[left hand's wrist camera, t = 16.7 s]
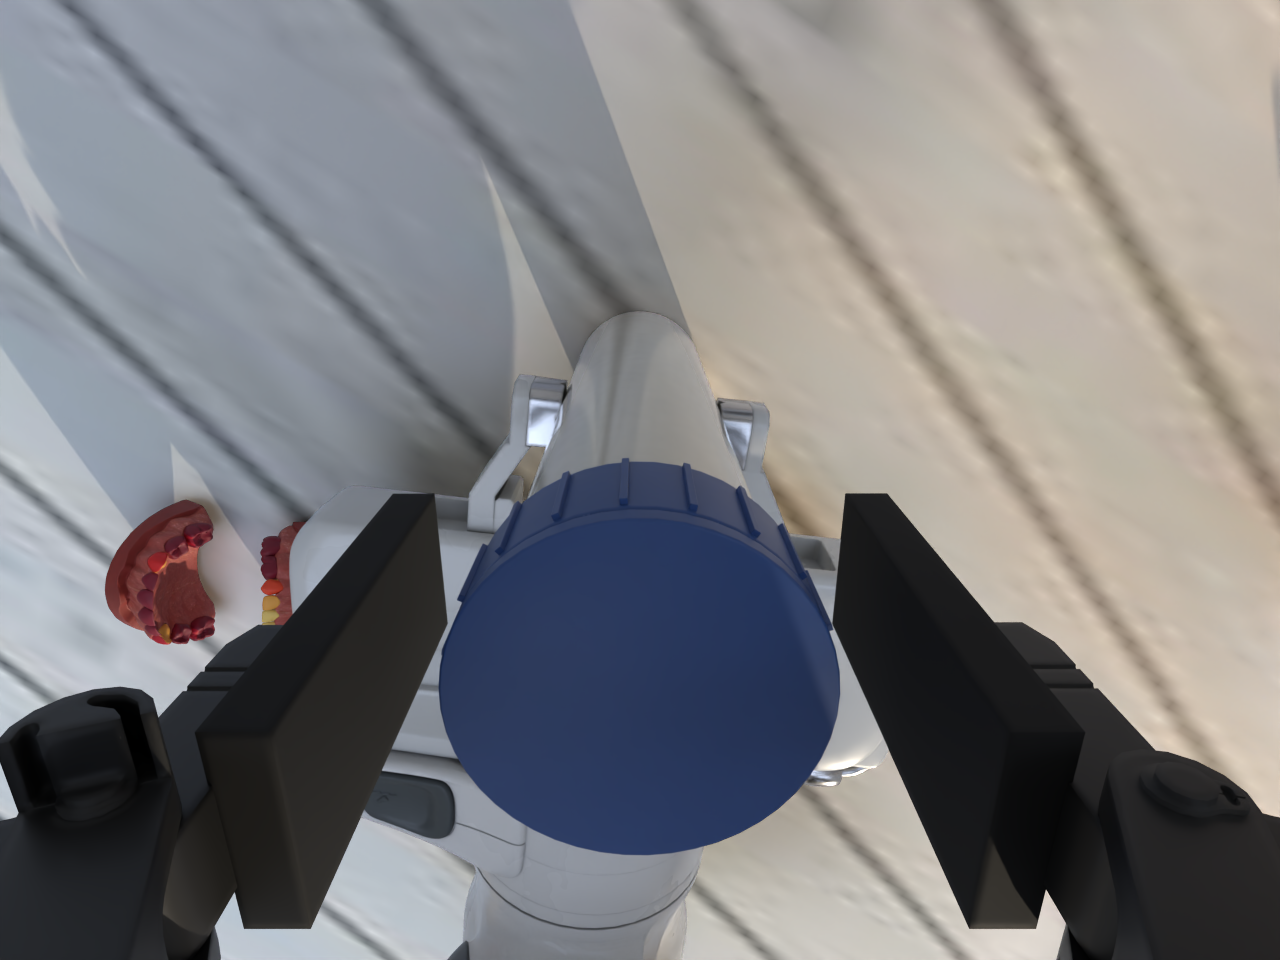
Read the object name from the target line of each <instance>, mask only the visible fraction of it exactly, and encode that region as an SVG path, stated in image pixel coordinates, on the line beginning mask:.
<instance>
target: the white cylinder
mask: <svg viewBox="0 0 1280 960" xmlns="http://www.w3.org/2000/svg"><path fill="white" fill-rule="evenodd" d="M622 458H629V462H631V461H633V462H659V463H666V464H673V465H679V466H683V463H688V464H690V465H691V469H694V470H698V471H701V472H703V473H706V474H708V475H711V476H713V477H716V478H718V479H720V480H723V481H724V482H726V483H728V484H730V485H731V486H733V487H735V488H736V489H737V488H738V487H739V486H742V487H743V488H745V490H746V493H747V496H748V497H749V498H751V499H752V496H751V494H750V491H749V488H748V486H747V483H746V480H745V478H744V475H743V472H742V470H741V467H740V464H739V462H738V459H737V456H736V454H735V451H734V448H733V446H732V443H731V440H730V438H729V435H728V432H727V430H726V427H725V424H724V421H723V419H722V416H721V413H720V411H719V408H718V405H717V403H716V400H715V397H714V395H713V392H712V389H711V387H710V384H709V381H708V379H707V376H706V373H705V371H704V368H703V365H702V363H701V360H700V357H699V355H698V352H697V349H696V347H695V345H694V343H693V341H692V339H691V338H690V337H689V335H688V334H687V333H686V332H685V331H684V330H683V329H682V327H680V326H679V325H678V324H677V323H675V322H674V321H672V320H671V319H669V318H667V317H665V316H662V315H660V314H656V313H653V312H646V311H633V312H627V313H623V314H619V315H617V316H614V317H612V318H610V319H609V320H607V321H605V322H604V323H603V324H601V325H600V326H599V327H598V328H597V329H596V330H595V331H594V332H593V333H592V334H591V335H590V337H589V338H588V340H587V341H586V343H585V345H584V347H583V350H582V352H581V355H580V357H579V360H578V363H577V365H576V368H575V371H574V373H573V376H572V379H571V381H570V384H569V387H568V389H567V392H566V395H565V397H564V400H563V403H562V405H561V408H560V411H559V413H558V416H557V419H556V421H555V424H554V427H553V429H552V432H551V435H550V437H549V440H548V443H547V445H546V448H545V451H544V453H543V456H542V459H541V461H540V464H539V467H538V469H537V472H536V475H535V477H534V480H533V483H532V485H531V488H530V491H529V493H528V496H527V499H528V498H529V497H531V496H532V495H534V494H535V493H536V492H538V491H539V490H541V489H542V488H544V487H546V486H548V485H549V484H551V483H553V482H555V481H557V480H559V479H561V477H562V474H563V473H564V472H567V471H569V472H570V474H573V473H576V472H579V471H581V470H584V469H588V468H592V467H597V466H601V465H605V464H612V463H621V462H622ZM527 499H526V500H527ZM752 500H753V499H752Z"/></svg>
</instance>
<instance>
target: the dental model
mask: <svg viewBox="0 0 1280 960" xmlns="http://www.w3.org/2000/svg"><path fill="white" fill-rule="evenodd" d="M305 523H306V522H293V525H292V526H288V527H286V528H284V529H283V530H282V531H281V532H280V533H279V535H278V537H277V536H269V537H266V538H264V539H263V542H262V547H263V549H262V550H261V552H260V553H261V556H262V558H261V561H262V562H263V565H262V566H261V572H262V575H263V576H264V578H265V579H266V580H267V581H266V582H265V583H264V584H263V586H262V587H261V590H262V592H263V593H264V594H267V595H268V596H265V597H264V598H263V610H265V611H263V612H262V622H267V623H262V625H284V624H285V623H286V622H287V620H288V619H289V618H290V617H291V616H292V614H293V613H292V604H291V593H290V577H289V559H290V550H291V547H292V544H293V541H294V539H295V537H296V535H297V534H298V532H299V531H300V529H301V528H302V527H303V526H304V524H305ZM212 533H213V524H212V522H211V520H210V518H209V516H208V514H207V512H206V510H205V509H204V507H203V506H202V505H199V504H196V503H194V502H191V501H189V500H182V501H180V502H177V503H175V504H173V505H170V506H168V507H166V508H164V509H162V510H160V511H158V512H157V513H155V514H154V515H152V516H150V517H149V518H148V519H146V520H145V521H144V522H143V523H141V524H140V525H139V526H138V527H137V528H136V529H135V530H133V531H132V532H131V533H130V535H129V536H128V537H127V539H126V540H125V541H124V542H123V543H122V545H121V546H120V547H119V549H118V550H117V552H116V554H115V556H114V558H113V560H112V562H111V564H110V567H109V570H108V573H107V576H106V583H105V595H106V600H107V604H108V607H109V609H110V610H111V612H112V613H113V614H114V616H115V617H116V618H117V619H119V620H120V621H122V622H123V623H125V624H127V625H129V626H131V627H133V628H136V629H139V630H142V631H145V633H146V634H147V636H148V637H149V638H150V639H152V640H154V641H155V642H157V643H160V644H170V643H171V642H173V643H176V644H187V643H188V641H189V639H191V640H193V641H198V640H203V639H204V638H205V637H210V636H212V635H213V634H214V631H215V628H214V625H213V624H214V622H215V620H214V617H215V609H214V604H213V602H212V601H211V600H210V598H209V597H208V596H207V594H206V592H205V591H204V589H203V586H202V584H201V581H200V578H199V575H198V569H197V553H198V549H199V547H201V546H202V545H203V544H205V543H206V542H208V541H210V540H211V539H212V538H213V535H212ZM272 594H276V596H275V595H272ZM271 621H273V622H271Z"/></svg>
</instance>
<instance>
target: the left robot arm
mask: <svg viewBox="0 0 1280 960" xmlns="http://www.w3.org/2000/svg"><path fill="white" fill-rule="evenodd" d="M447 625H448V620H447V610H446V600H445V591H444V581H443V571H442V561H441V551H440V542H439V532H438V522H437V512H436V503H435V494H392V495H391V497H390V498H389V499H388V500H387V501H386V503H385V504H384V505H383V506H382V507H381V509H380V510H379V511H378V512H377V513H376V515H375V516H374V517H373V518H372V519H371V521H370V522H369V523H368V524H367V525H366V527H365V528H364V529H363V530H362V531H361V533H360V534H359V535H358V536H357V537H356V539H355V540H354V541H353V542H352V543H351V545H350V546H349V547H348V548H347V549H346V551H345V552H344V553H343V554H342V555H341V557H340V558H339V559H338V560H337V562H336V563H335V564H334V565H333V566H332V568H331V569H330V570H329V571H328V572H327V574H326V575H325V576H324V577H323V578H322V580H321V581H320V582H319V583H318V584H317V586H316V587H315V588H314V589H313V590H312V592H311V593H310V594H309V595H308V596H307V598H306V599H305V600H304V601H303V602H302V604H301V605H300V606H299V607H298V608H297V610H296V611H295V612H294V613H293V614H292V616H291V617H290V618H289V619H288V620H287V622H286V623H285V624H284V625H257V626H256V627H254V628H252V629H251V630H249V631H247V632H246V633H244V634H242V635H241V636H239V637H238V638H236V639H234V640H233V641H231V642H229V643H228V644H226V645H225V646H224V647H223V648H222V649H221V651H220V652H219V653H218V654H217V655H216V656H215V657H214V658H213V659H212V660H211V661H210V662H209V663H208V665H207V666H206V667H205V672H200V673H199V674H198V675H197V676H196V678H195V679H194V680H193V681H192V682H191V683H190V684H189V685H188V686H187V691H183V692H182V693H181V694H180V695H179V696H178V697H177V698H176V699H175V700H174V701H173V702H172V704H171V705H170V706H169V707H168V708H167V709H166V710H165V711H164V712H163V713H162V714H161V715H160V717H159V718H158V715H157V711H156V708H155V704H154V700H153V698H152V697H151V696H149V695H148V694H146V693H145V692H144V691H142V690H140V689H133V688H126V687H113V688H103V689H93V690H90V691H86V692H82V693H79V694H75V695H72V696H68V697H64V698H62V699H60V700H57V701H55V702H53V703H51V704H48V705H46V706H44V707H42V708H39V709H37V710H35V711H33V712H32V713H30V714H29V715H27V716H26V717H24V718H23V719H21V720H20V721H18V722H17V723H15V724H14V725H12V726H11V727H9V728H8V729H7V730H6V732H5V733H4V734H3V735H2V736H1V737H0V763H1V766H2V769H3V771H4V774H5V777H6V780H7V782H8V785H9V788H10V790H11V793H12V796H13V799H14V801H15V804H16V807H17V809H18V812H19V813H18V815H17V817H15V818H12V819H7V820H3V821H0V960H221V955H220V948H219V941H218V937H217V933H216V930H215V925H216V923H217V921H218V919H219V918H220V916H221V914H222V913H223V911H224V909H225V907H226V906H227V904H228V902H229V901H230V899H231V897H232V895H233V894H234V892H235V895H236V899H237V903H238V907H239V911H240V915H241V919H242V923H243V927H244V929H311V927H312V925H313V922H314V920H315V918H316V916H317V914H318V911H319V909H320V907H321V905H322V902H323V900H324V898H325V896H326V894H327V891H328V889H329V887H330V885H331V882H332V880H333V878H334V876H335V874H336V871H337V869H338V867H339V865H340V862H341V860H342V858H343V856H344V854H345V851H346V849H347V847H348V845H349V842H350V840H351V838H352V836H353V834H354V831H355V829H356V827H357V825H358V822H359V820H360V818H361V816H362V814H363V811H364V809H365V807H366V805H367V802H368V800H369V798H370V796H371V794H372V791H373V789H374V787H375V785H376V782H377V780H378V778H379V776H380V774H381V771H382V769H383V767H384V765H385V762H386V760H387V758H388V756H389V754H390V751H391V749H392V747H393V745H394V742H395V740H396V738H397V736H398V733H399V731H400V729H401V727H402V725H403V722H404V720H405V718H406V716H407V713H408V711H409V709H410V707H411V705H412V702H413V700H414V698H415V696H416V693H417V691H418V689H419V687H420V685H421V682H422V680H423V678H424V676H425V673H426V671H427V669H428V667H429V665H430V662H431V660H432V658H433V656H434V653H435V651H436V649H437V647H438V645H439V642H440V640H441V638H442V636H443V633H444V631H445V629H446V627H447ZM832 625H833V627H834V629H835V631H836V633H837V636H838V638H839V640H840V642H841V645H842V647H843V649H844V651H845V653H846V656H847V658H848V660H849V662H850V665H851V667H852V669H853V671H854V673H855V676H856V678H857V680H858V682H859V685H860V687H861V689H862V691H863V693H864V696H865V698H866V700H867V702H868V705H869V707H870V709H871V711H872V713H873V716H874V718H875V720H876V722H877V725H878V727H879V729H880V731H881V733H882V736H883V738H884V740H885V742H886V745H887V747H888V749H889V751H890V753H891V756H892V758H893V760H894V762H895V765H896V767H897V769H898V771H899V774H900V776H901V778H902V780H903V782H904V785H905V787H906V789H907V791H908V794H909V796H910V798H911V800H912V802H913V805H914V807H915V809H916V811H917V814H918V816H919V818H920V820H921V822H922V825H923V827H924V829H925V831H926V834H927V836H928V838H929V840H930V842H931V845H932V847H933V849H934V851H935V854H936V856H937V858H938V860H939V862H940V865H941V867H942V869H943V871H944V874H945V876H946V878H947V880H948V882H949V885H950V887H951V889H952V891H953V894H954V896H955V898H956V900H957V902H958V905H959V907H960V909H961V911H962V914H963V916H964V918H965V920H966V922H967V925H968V927H969V929H1036V927H1037V923H1038V919H1039V915H1040V911H1041V907H1042V903H1043V899H1044V895H1045V891H1046V890H1047V891H1048V893H1049V895H1050V897H1051V898H1052V900H1053V902H1054V903H1055V905H1056V907H1057V908H1058V910H1059V912H1060V914H1061V915H1062V917H1063V919H1064V920H1065V922H1066V926H1065V930H1064V933H1063V937H1062V941H1061V945H1060V948H1059V952H1058V956H1057V959H1056V960H1280V818H1279V817H1275V816H1270V815H1267V814H1263V813H1262V812H1261V810H1260V809H1259V808H1258V807H1257V805H1256V804H1255V803H1254V801H1253V800H1252V799H1251V797H1250V796H1249V795H1248V793H1247V792H1245V791H1244V790H1243V789H1241V788H1240V787H1239V786H1237V785H1236V784H1235V783H1234V782H1232V781H1231V780H1230V779H1228V778H1227V777H1226V776H1224V775H1223V774H1221V773H1219V772H1217V771H1215V770H1213V769H1211V768H1209V767H1207V766H1205V765H1203V764H1201V763H1199V762H1197V761H1195V760H1191V759H1188V758H1185V757H1182V756H1179V755H1176V754H1172V753H1169V752H1163V751H1156V750H1155V749H1154V748H1153V747H1152V746H1151V745H1150V744H1149V743H1148V742H1147V741H1146V740H1145V739H1144V738H1143V737H1142V735H1141V734H1140V733H1139V732H1138V731H1137V730H1136V729H1135V728H1134V727H1133V726H1132V725H1131V724H1130V723H1129V721H1128V720H1127V719H1126V718H1125V717H1124V716H1123V715H1122V714H1121V713H1120V712H1119V711H1118V710H1117V709H1116V707H1115V706H1114V705H1113V704H1112V703H1111V702H1110V701H1109V700H1108V699H1107V698H1106V697H1105V696H1104V695H1103V694H1102V692H1101V691H1100V690H1099V689H1094V687H1093V683H1092V682H1091V681H1090V680H1089V678H1088V677H1087V676H1086V675H1085V674H1084V673H1083V672H1082V671H1081V670H1080V669H1076V667H1075V666H1076V665H1075V663H1074V662H1073V661H1072V660H1071V659H1070V658H1069V657H1068V656H1067V655H1066V654H1065V653H1064V652H1063V651H1062V649H1061V648H1060V647H1059V646H1058V645H1057V644H1056V643H1055V642H1054V641H1052V640H1051V639H1049V638H1047V637H1046V636H1044V635H1042V634H1041V633H1039V632H1037V631H1036V630H1034V629H1032V628H1031V627H1029V626H1027V625H1026V624H1024V623H1022V622H993V620H992V619H991V618H990V617H989V616H988V614H987V613H986V612H985V611H984V610H983V608H982V607H981V606H980V605H979V604H978V602H977V601H976V600H975V599H974V598H973V596H972V595H971V594H970V593H969V592H968V590H967V589H966V588H965V587H964V586H963V584H962V583H961V582H960V581H959V580H958V578H957V577H956V576H955V575H954V574H953V572H952V571H951V570H950V569H949V568H948V566H947V565H946V564H945V563H944V562H943V560H942V559H941V558H940V557H939V555H938V554H937V553H936V552H935V551H934V549H933V548H932V547H931V546H930V545H929V543H928V542H927V541H926V540H925V539H924V537H923V536H922V535H921V534H920V533H919V531H918V530H917V529H916V528H915V527H914V525H913V524H912V523H911V522H910V521H909V519H908V518H907V517H906V516H905V515H904V513H903V512H902V511H901V510H900V509H899V507H898V506H897V505H896V504H895V503H894V501H893V500H892V499H891V498H890V497H889V495H888V494H845V503H844V512H843V522H842V532H841V542H840V551H839V561H838V571H837V581H836V591H835V600H834V610H833V620H832Z"/></svg>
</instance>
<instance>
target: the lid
mask: <svg viewBox="0 0 1280 960" xmlns="http://www.w3.org/2000/svg"><path fill="white" fill-rule="evenodd" d="M457 601H460V602H462V604H461V606H460V608H459V611H458V613H457V615H456V617H455V620H454V622H453V624H452V627H451V629H450V632H449V634H448V636H447V638H446V641H445V643H444V645H443V648H442V652H441V655H442V658H441V663H440V671H439V685H438V689H439V700H440V710H441V714H442V718H443V722H444V726H445V731H446V733H447V736H448V738H449V741H450V743H451V746H452V748H453V750H454V753H455V754H456V756H457V758H458V759H459V761H460V763H461V765H462V766H463V768H464V770H465V771H466V773H467V774H468V775H469V776H470V778H471V779H472V780H473V781H474V783H475V784H476V785H477V787H478V788H479V789H480V790H481V791H482V792H483V793H484V794H485V795H486V796H487V797H488V798H489V799H490V800H491V801H492V802H493V803H494V804H495V805H497V806H498V807H499V808H501V809H502V810H503V811H505V812H506V813H507V814H508V815H510V816H511V817H512V818H514V819H515V820H517V821H519V822H521V823H522V824H524V825H526V826H527V827H529V828H531V829H532V830H534V831H536V832H539V833H541V834H543V835H545V836H547V837H550V838H552V839H554V840H557V841H560V842H563V843H566V844H569V845H572V846H575V847H578V848H583V849H588V850H592V851H597V852H602V853H611V854H620V855H658V854H670V853H676V852H681V851H687V850H692V849H697V848H700V847H703V846H707V845H710V844H713V843H717V842H719V841H722V840H724V839H727V838H729V837H731V836H734V835H736V834H739V833H741V832H742V831H744V830H746V829H748V828H750V827H752V826H753V825H755V824H757V823H759V822H760V821H762V820H763V819H765V818H766V817H767V816H769V815H770V814H772V813H773V812H774V811H776V810H777V809H779V808H780V807H781V806H782V805H783V804H784V803H785V802H786V801H787V800H789V799H790V798H791V797H792V796H793V795H794V794H795V793H796V792H797V791H798V790H799V788H800V787H801V786H802V785H803V784H804V783H805V781H806V780H807V779H808V778H809V777H810V775H811V774H812V772H813V771H814V769H815V767H816V766H817V764H818V763H819V761H820V760H821V758H822V756H823V754H824V752H825V750H826V747H827V745H828V743H829V741H830V739H831V736H832V732H833V729H834V726H835V722H836V719H837V715H838V707H839V700H840V670H839V664H838V659H837V653H836V649H835V646H834V643H833V640H832V637H831V634H830V632H829V631H832V630H833V626H832V623H831V621H830V619H829V616H828V614H827V612H826V610H825V608H824V605H823V603H822V601H821V599H820V596H819V594H818V592H817V590H816V588H815V585H814V583H813V581H812V579H811V577H810V574H809V572H808V570H805V569H804V567H803V565H802V562H801V560H800V558H799V556H798V553H797V551H796V549H795V547H794V544H793V542H792V540H791V538H790V535H789V533H788V531H787V529H786V527H785V525H784V524H783V523H781V524H780V525H777V523H776V522H775V521H774V520H773V519H772V518H771V516H770V515H769V514H768V513H767V512H766V511H765V510H764V509H763V508H762V507H761V506H760V505H759V504H757V503H756V502H755V501H753V500H752V499H751V498H749V497H748V496H747V493H746V490H745V488H743V487H742V486H739V487H738V488H737V489H736V488H735V487H733V486H731V485H730V484H728V483H726V482H724V481H723V480H720V479H718V478H716V477H713V476H711V475H708V474H706V473H703V472H701V471H698V470H694V469H691V465H690V464H688V463H683V466H679V465H673V464H666V463H659V462H633V461H631V462H629V458H622V462H621V463H612V464H605V465H601V466H597V467H592V468H588V469H584V470H581V471H579V472H576V473H573V474H570V472H569V471H567V472H564V473H563V474H562V477H561V479H559V480H557V481H555V482H553V483H551V484H549V485H548V486H546V487H544V488H542V489H541V490H539V491H538V492H536V493H535V494H534V495H532V496H531V497H529V498H528V499H527V500H525V501H524V502H523V503H522V504H521V503H520V502H519V501H517V502H516V503H515V504H514V505H513V507H512V510H511V512H510V515H509V516H508V517H507V519H506V520H505V521H504V522H503V524H502V525H501V526H500V527H499V529H498V530H497V531H496V532H495V534H494V536H493V537H492V539H491V541H490V542H489V544H488V545H486V544H484V543H483V544H482V546H481V547H480V550H479V552H478V554H477V556H476V558H475V561H474V563H473V565H472V567H471V569H470V572H469V574H468V576H467V578H466V580H465V583H464V585H463V587H462V589H461V591H460V594H459V596H458V598H457Z"/></svg>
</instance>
